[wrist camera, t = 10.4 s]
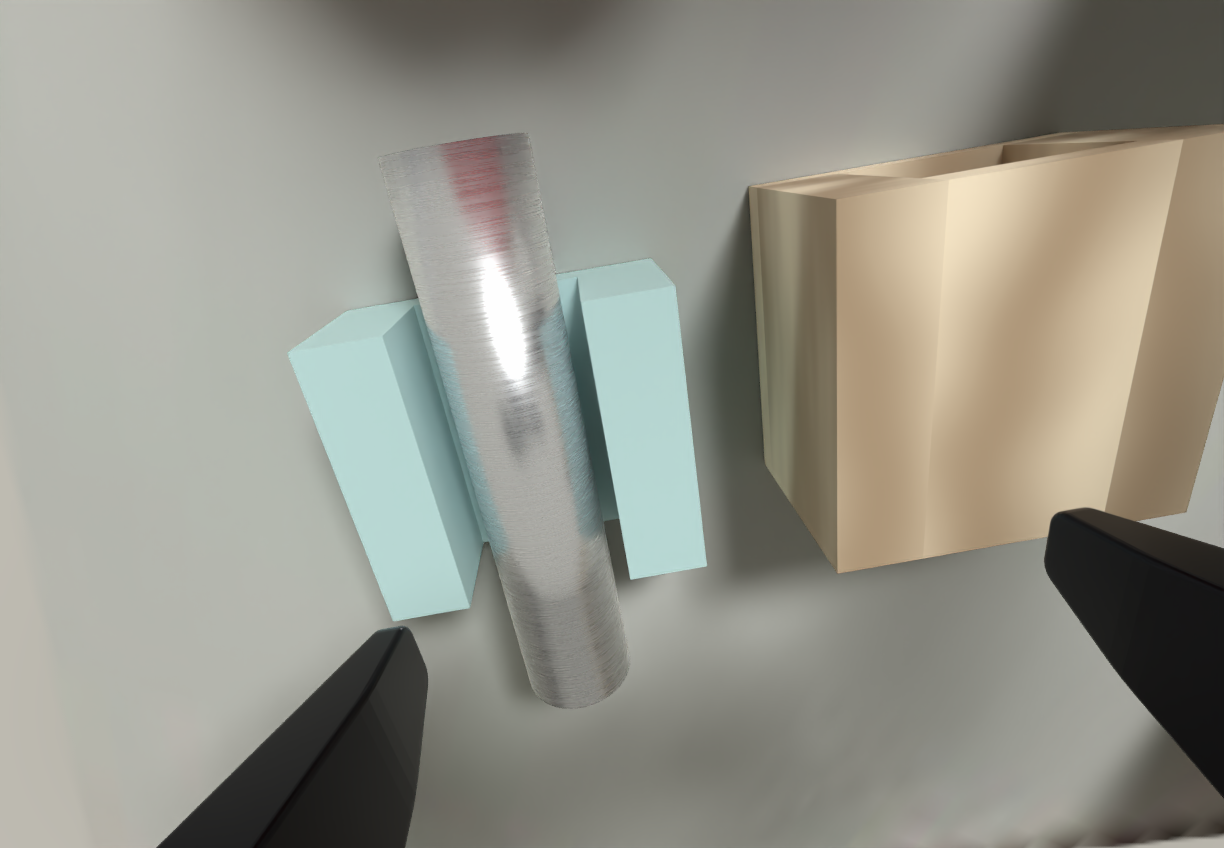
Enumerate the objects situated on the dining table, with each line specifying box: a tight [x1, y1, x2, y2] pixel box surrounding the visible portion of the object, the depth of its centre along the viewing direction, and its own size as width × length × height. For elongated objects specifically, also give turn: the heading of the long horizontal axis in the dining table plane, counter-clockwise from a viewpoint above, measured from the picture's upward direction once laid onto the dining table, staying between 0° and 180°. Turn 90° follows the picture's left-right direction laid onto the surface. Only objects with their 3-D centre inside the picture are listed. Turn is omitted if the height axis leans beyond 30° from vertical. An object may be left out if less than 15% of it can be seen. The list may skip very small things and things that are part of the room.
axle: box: [378, 133, 630, 709], centre depth 17 cm, size 16×3×3 cm, turn 9°
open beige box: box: [748, 124, 1224, 574], centre depth 16 cm, size 9×9×6 cm
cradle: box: [287, 258, 707, 621], centre depth 17 cm, size 9×8×4 cm
